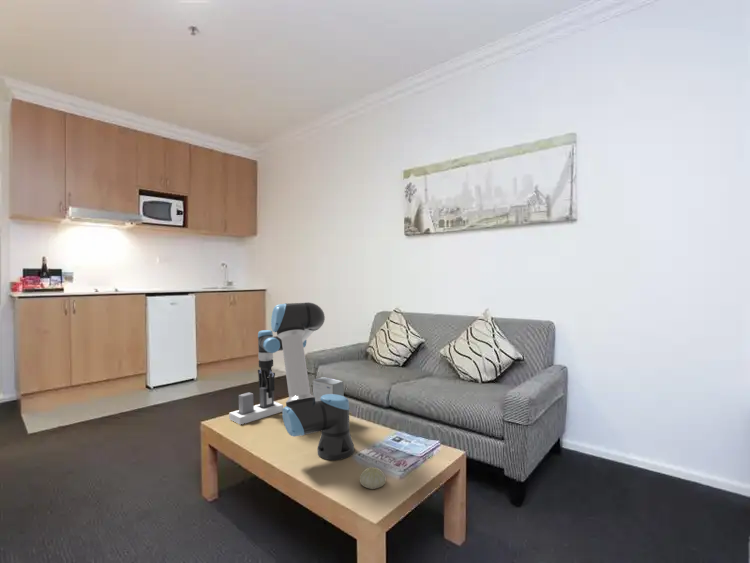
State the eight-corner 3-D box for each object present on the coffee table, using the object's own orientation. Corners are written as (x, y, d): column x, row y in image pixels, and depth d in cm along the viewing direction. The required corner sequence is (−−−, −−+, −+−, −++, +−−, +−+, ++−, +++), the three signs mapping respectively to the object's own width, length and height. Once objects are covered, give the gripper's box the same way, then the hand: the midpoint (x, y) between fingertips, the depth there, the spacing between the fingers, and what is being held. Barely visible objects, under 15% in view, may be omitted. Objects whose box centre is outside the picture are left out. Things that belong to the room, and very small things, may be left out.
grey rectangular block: (273, 408, 212) (273, 386, 212) (264, 411, 208) (263, 389, 207) (269, 407, 215) (269, 385, 214) (260, 410, 210) (259, 387, 210)
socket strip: (283, 411, 212) (282, 388, 212) (240, 425, 194) (239, 399, 194) (272, 406, 220) (271, 384, 219) (229, 419, 202) (228, 395, 201)
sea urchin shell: (385, 470, 144) (385, 462, 139) (385, 494, 139) (385, 487, 133) (360, 470, 145) (359, 462, 139) (360, 493, 139) (358, 487, 133)
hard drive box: (344, 420, 198) (344, 381, 197) (333, 425, 192) (332, 384, 191) (324, 413, 208) (323, 376, 207) (312, 418, 202) (312, 379, 201)
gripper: (281, 360, 207) (282, 404, 208) (263, 356, 219) (264, 397, 220) (268, 363, 202) (269, 408, 203) (251, 358, 214) (252, 401, 214)
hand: (266, 402), depth 211 cm, fingers closed on grey rectangular block, 4 cm apart
